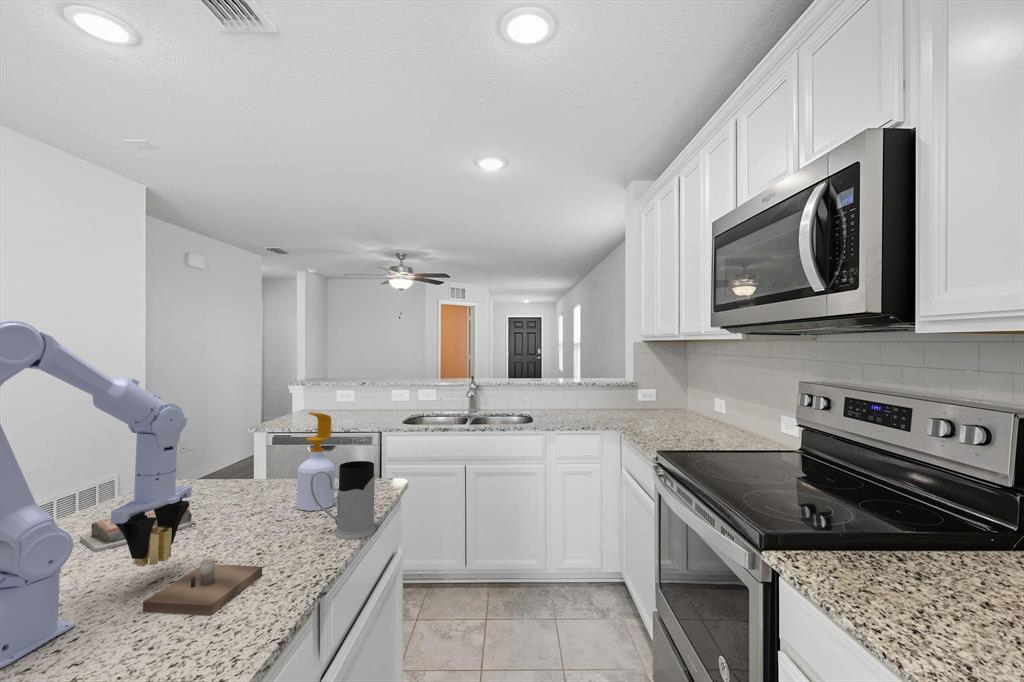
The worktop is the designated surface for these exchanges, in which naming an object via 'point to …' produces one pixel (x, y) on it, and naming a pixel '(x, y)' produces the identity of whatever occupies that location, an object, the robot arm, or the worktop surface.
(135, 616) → the worktop surface
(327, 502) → the soap bottle
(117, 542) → the packaged product
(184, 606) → the post base
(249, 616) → the worktop surface
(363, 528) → the glass holder
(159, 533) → the wooden block ring
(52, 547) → the robot arm
